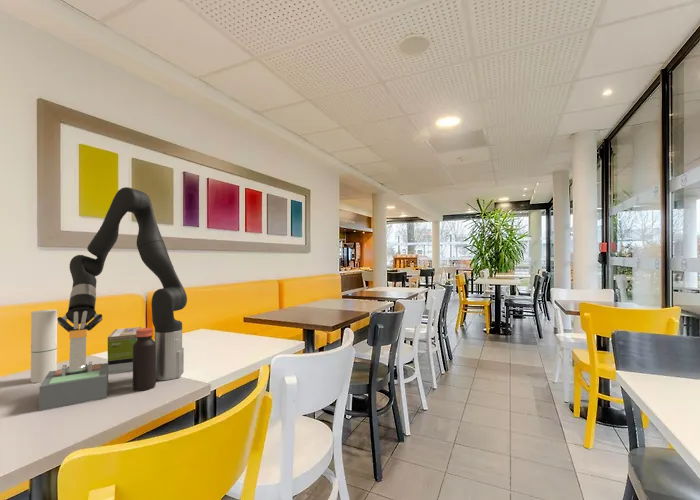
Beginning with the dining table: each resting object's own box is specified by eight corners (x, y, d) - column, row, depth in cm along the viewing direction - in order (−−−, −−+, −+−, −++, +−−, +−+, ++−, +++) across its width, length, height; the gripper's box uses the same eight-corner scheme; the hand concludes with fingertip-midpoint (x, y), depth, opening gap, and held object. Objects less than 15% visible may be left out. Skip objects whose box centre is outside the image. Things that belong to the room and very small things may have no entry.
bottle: (157, 387, 117) (158, 329, 117) (135, 393, 112) (135, 332, 113) (152, 382, 122) (153, 326, 122) (130, 387, 117) (131, 329, 118)
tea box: (114, 363, 144) (115, 328, 144) (142, 360, 148) (142, 326, 148) (106, 374, 130) (107, 336, 130) (137, 371, 134) (137, 333, 134)
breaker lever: (87, 371, 113) (88, 329, 116) (86, 371, 111) (87, 329, 113) (67, 374, 110) (69, 331, 113) (66, 374, 108) (68, 331, 111)
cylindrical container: (54, 374, 131) (55, 309, 131) (58, 378, 126) (59, 310, 126) (28, 379, 125) (29, 311, 125) (32, 384, 121) (33, 313, 121)
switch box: (108, 382, 122) (108, 354, 122) (106, 398, 109) (106, 366, 109) (49, 392, 113) (49, 362, 113) (39, 410, 100) (39, 376, 100)
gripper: (58, 294, 118) (50, 337, 108) (104, 291, 126) (101, 332, 115) (60, 306, 123) (53, 349, 113) (105, 304, 130) (102, 344, 120)
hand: (78, 340), depth 114 cm, fingers closed
